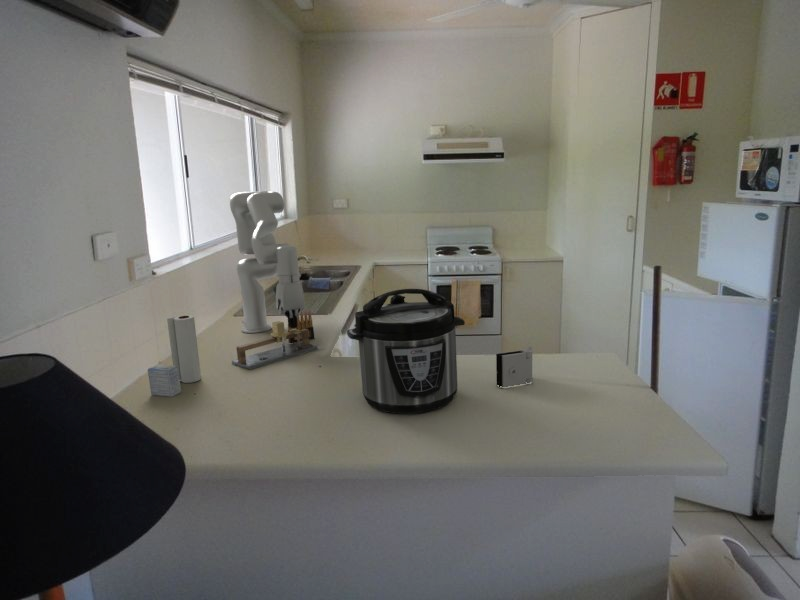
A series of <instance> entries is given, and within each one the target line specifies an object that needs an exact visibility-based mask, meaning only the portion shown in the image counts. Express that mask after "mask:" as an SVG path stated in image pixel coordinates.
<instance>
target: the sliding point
mask: <svg viewBox="0 0 800 600" xmlns="http://www.w3.org/2000/svg"><path fill="white" fill-rule="evenodd" d="M284 322H285V321H284ZM284 322H283V321H279V320H278V321H275V322H272V325H271V328H272V332H271V333H270V338H271V337H276V340H277V342H276V343H277V344H280V343H281V347H282V350H283V352H285V346H286V344H285V342H286V341H288V339H286V336H288V335H287V333H288V332H286V331H285V323H284Z"/></svg>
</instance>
